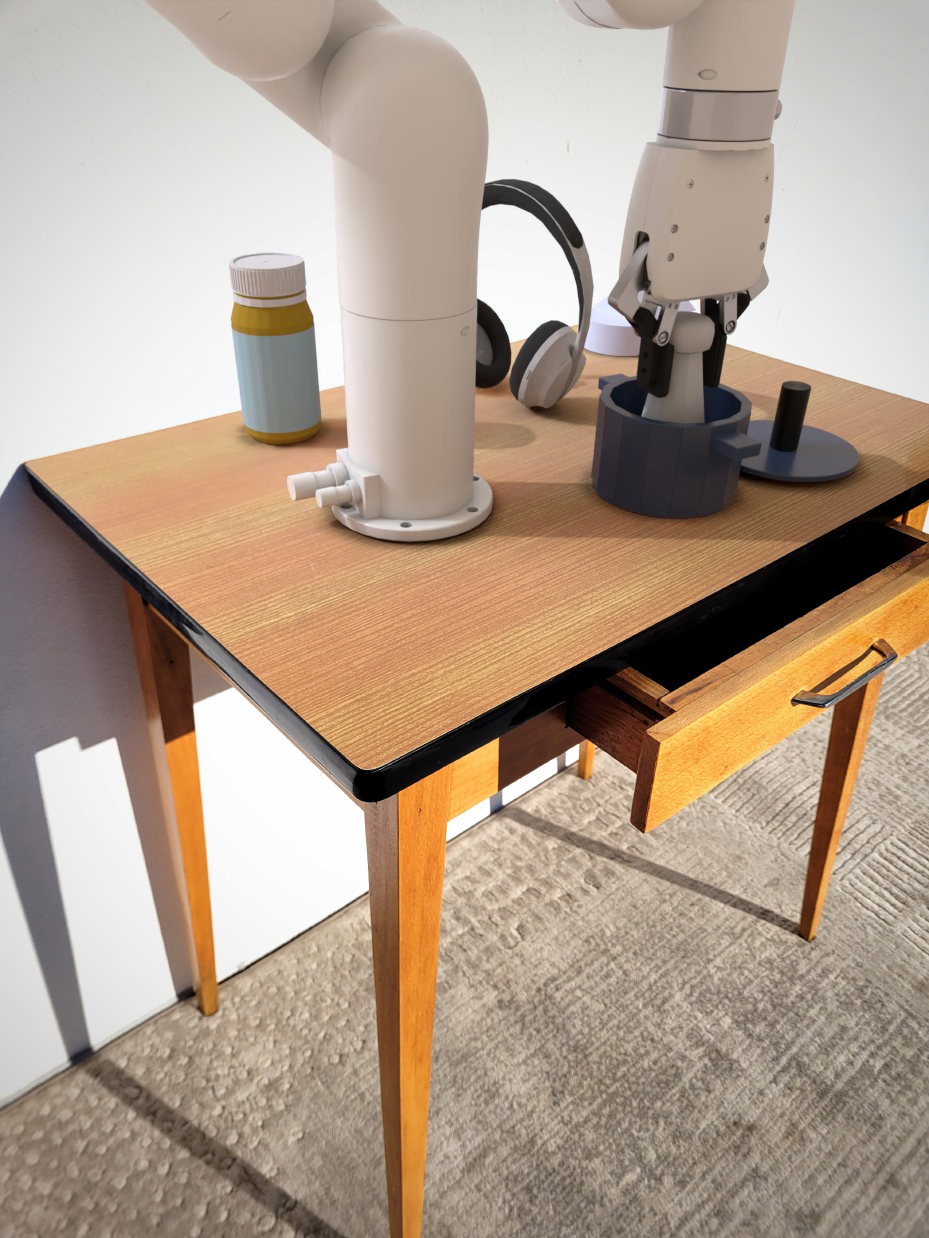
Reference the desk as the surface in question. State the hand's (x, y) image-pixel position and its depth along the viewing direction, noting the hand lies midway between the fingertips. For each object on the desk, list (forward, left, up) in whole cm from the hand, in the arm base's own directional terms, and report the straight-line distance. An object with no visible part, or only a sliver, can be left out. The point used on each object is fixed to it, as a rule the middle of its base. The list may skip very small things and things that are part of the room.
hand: (677, 384), depth 71 cm
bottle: (-24, +25, -9) cm, 36 cm away
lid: (+13, 0, -8) cm, 15 cm away
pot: (0, 0, -9) cm, 9 cm away
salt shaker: (0, 0, -8) cm, 8 cm away
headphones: (-1, +24, -9) cm, 26 cm away
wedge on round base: (+22, +34, -9) cm, 41 cm away
